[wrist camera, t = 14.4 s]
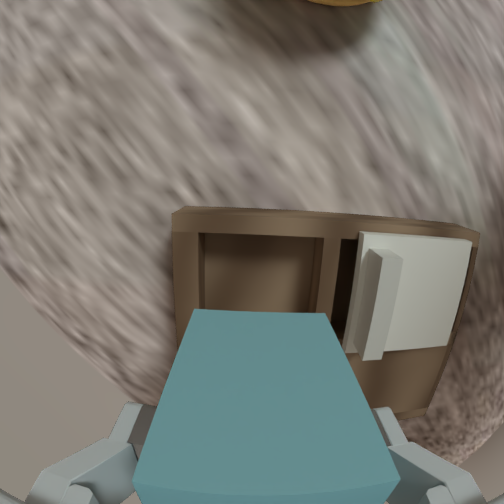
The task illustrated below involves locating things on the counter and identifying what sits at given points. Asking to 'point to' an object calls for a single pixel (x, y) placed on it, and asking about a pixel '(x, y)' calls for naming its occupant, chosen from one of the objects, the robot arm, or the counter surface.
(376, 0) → the hamburger
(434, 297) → the cover
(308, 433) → the block
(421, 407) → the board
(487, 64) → the counter surface
